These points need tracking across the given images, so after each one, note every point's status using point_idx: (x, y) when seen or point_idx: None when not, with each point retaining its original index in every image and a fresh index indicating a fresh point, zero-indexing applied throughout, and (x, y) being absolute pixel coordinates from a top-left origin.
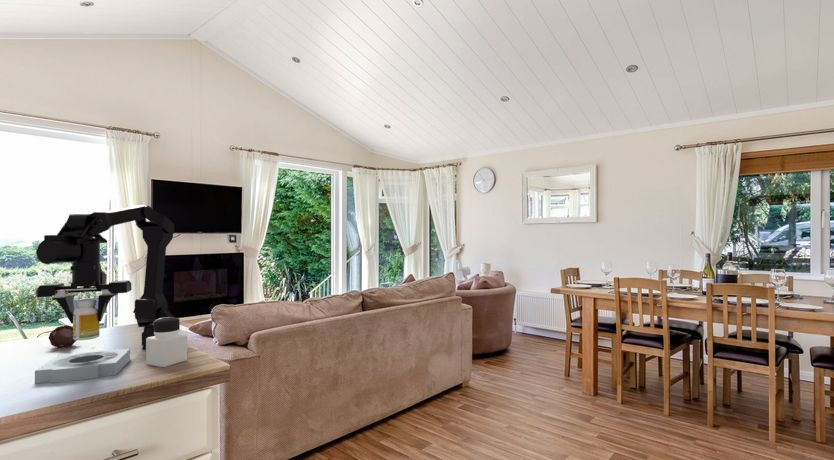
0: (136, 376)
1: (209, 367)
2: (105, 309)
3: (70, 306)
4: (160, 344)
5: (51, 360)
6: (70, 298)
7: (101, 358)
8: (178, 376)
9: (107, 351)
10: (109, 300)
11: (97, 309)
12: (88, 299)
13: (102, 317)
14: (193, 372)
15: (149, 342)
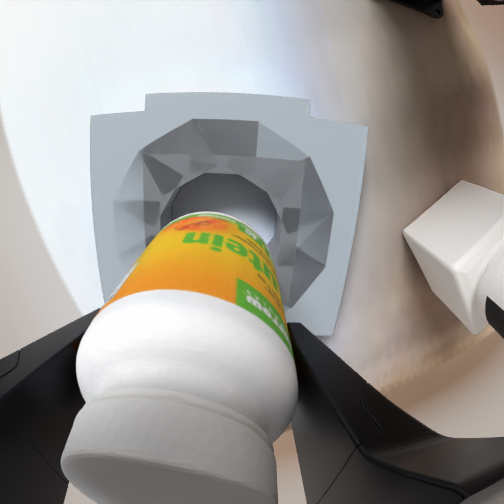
0: (369, 343)
1: (489, 325)
2: (355, 378)
3: (57, 442)
4: (464, 322)
5: (94, 200)
6: (6, 480)
7: (278, 255)
8: (434, 366)
9: (279, 129)
10: (428, 441)
11: (287, 425)
12: (152, 478)
13: (312, 336)
14: (460, 349)
15: (450, 281)
